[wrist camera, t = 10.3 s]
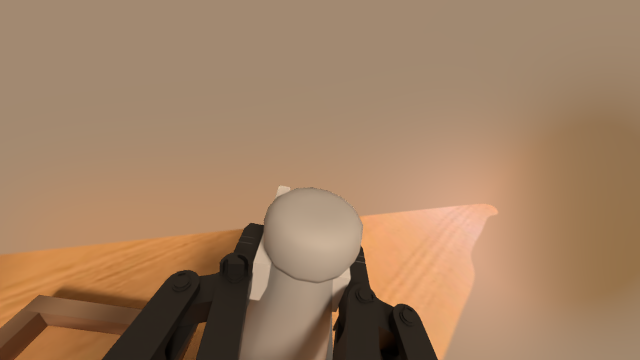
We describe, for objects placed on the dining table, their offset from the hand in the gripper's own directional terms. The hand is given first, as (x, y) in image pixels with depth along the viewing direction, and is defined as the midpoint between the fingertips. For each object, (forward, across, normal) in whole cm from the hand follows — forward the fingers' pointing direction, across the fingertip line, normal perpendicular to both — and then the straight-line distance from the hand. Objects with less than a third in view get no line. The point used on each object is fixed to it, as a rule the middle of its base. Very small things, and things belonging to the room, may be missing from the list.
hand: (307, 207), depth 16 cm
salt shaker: (-6, 0, -9) cm, 10 cm away
